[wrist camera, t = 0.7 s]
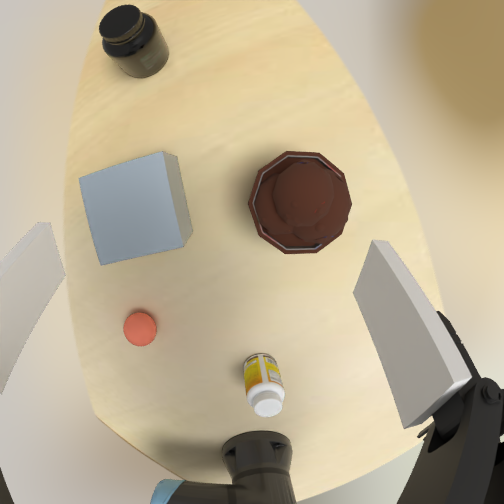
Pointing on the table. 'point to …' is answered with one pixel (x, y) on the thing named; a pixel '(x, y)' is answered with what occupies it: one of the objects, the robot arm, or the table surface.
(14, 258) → the robot arm
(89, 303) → the table surface
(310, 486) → the table surface
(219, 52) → the table surface
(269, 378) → the supplement bottle
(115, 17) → the supplement bottle
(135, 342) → the ball
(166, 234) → the block
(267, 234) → the ice cream bowl
